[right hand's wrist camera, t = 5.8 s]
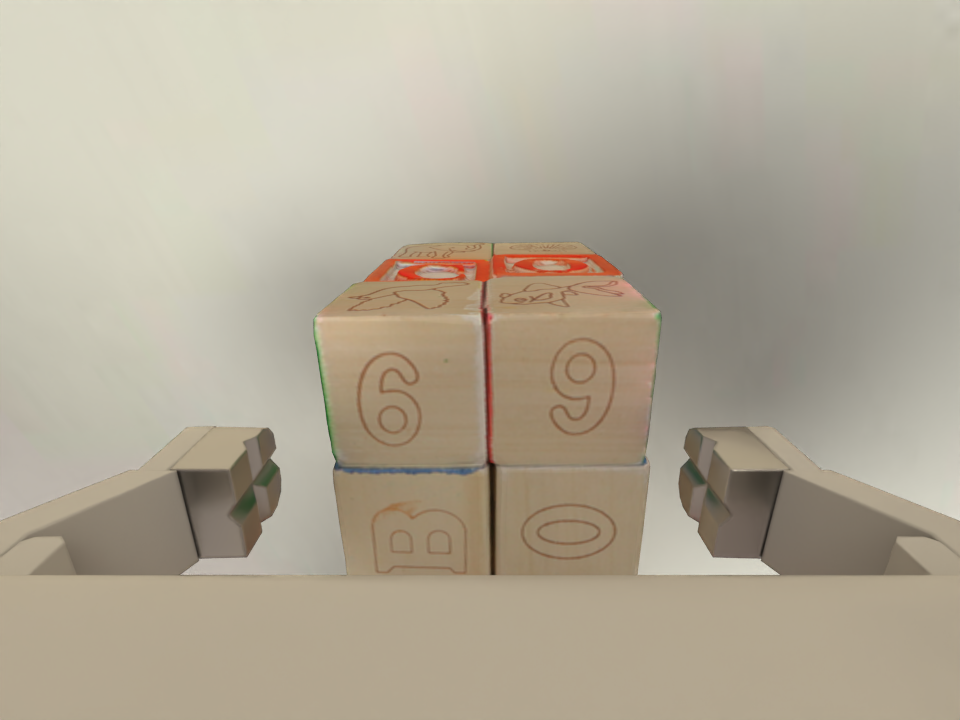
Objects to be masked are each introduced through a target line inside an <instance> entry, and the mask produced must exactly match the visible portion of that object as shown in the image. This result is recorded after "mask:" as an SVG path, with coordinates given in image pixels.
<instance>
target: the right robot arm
mask: <svg viewBox="0 0 960 720" xmlns="http://www.w3.org/2000/svg"><path fill="white" fill-rule="evenodd" d="M275 449H276V445H275V440H274V435H273V432H272V431H271V430H270V429H269V428H256V427H216V426H205V427H187V428H185V429H184V430H183V431H182V432H181V433H180V434H179V435H177V436H176V437H175V438H174V439H173V440H172V441H171V442H170V443H168V444H167V445H166V446H165V447H164V448H163V449H162V450H160V451H159V452H158V453H157V454H156V455H155V456H154V457H152V458H151V459H150V460H149V461H148V462H147V463H146V464H144V465H143V466H142V467H141V468H140V469H139V470H129V471H126V472H124V473H121V474H119V475H116V476H113V477H111V478H108V479H106V480H103V481H101V482H98V483H96V484H93V485H90V486H88V487H85V488H83V489H80V490H78V491H75V492H73V493H70V494H67V495H65V496H62V497H60V498H57V499H55V500H52V501H50V502H47V503H45V504H42V505H39V506H37V507H34V508H32V509H29V510H27V511H24V512H22V513H19V514H16V515H14V516H11V517H9V518H6V519H4V520H1V521H0V720H960V521H958V520H956V519H953V518H951V517H948V516H946V515H943V514H941V513H938V512H936V511H933V510H930V509H928V508H925V507H923V506H920V505H918V504H915V503H913V502H910V501H908V500H905V499H903V498H900V497H897V496H895V495H892V494H890V493H887V492H885V491H882V490H880V489H877V488H875V487H872V486H869V485H867V484H864V483H862V482H859V481H857V480H854V479H852V478H849V477H847V476H844V475H841V474H839V473H836V472H834V471H831V470H821V469H820V468H819V467H818V466H817V465H816V464H814V463H813V462H812V461H811V460H810V459H809V458H808V457H806V456H805V455H804V454H803V453H802V452H801V451H800V450H799V449H797V448H796V447H795V446H794V445H793V444H792V443H791V442H789V441H788V440H787V439H786V438H785V437H784V436H783V435H782V434H780V433H779V432H778V431H777V430H776V429H775V428H772V427H769V426H758V427H708V428H692V429H689V431H688V433H687V435H686V439H685V444H684V449H685V451H686V453H687V454H688V456H689V457H690V459H689V460H688V461H687V462H686V463H685V464H684V465H683V466H682V467H681V468H680V476H679V493H680V499H681V502H682V505H683V508H684V509H685V511H686V513H687V515H688V516H689V517H691V518H692V519H694V520H696V521H697V522H699V527H698V533H699V535H700V537H701V538H702V540H703V542H704V543H705V545H706V547H707V548H708V550H709V551H710V553H711V555H712V556H713V557H721V558H758V559H761V561H762V562H764V563H765V564H766V565H768V566H769V567H770V568H772V569H773V570H774V571H776V572H777V573H779V574H780V575H180V574H182V573H183V572H184V571H186V570H187V569H188V568H190V567H191V566H193V565H194V564H195V563H197V562H198V561H199V559H201V558H237V557H248V555H249V553H250V552H251V550H252V548H253V547H254V545H255V543H256V542H257V540H258V538H259V537H260V535H261V533H262V527H261V522H263V521H264V520H266V519H268V518H269V517H271V516H272V515H273V513H274V511H275V509H276V507H277V506H278V502H279V498H280V493H281V475H280V468H279V467H278V466H277V465H276V464H275V463H274V462H273V461H272V460H271V459H270V457H271V456H272V454H273V453H274V451H275Z"/></svg>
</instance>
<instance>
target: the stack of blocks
mask: <svg viewBox="0 0 960 720" xmlns="http://www.w3.org/2000/svg"><path fill="white" fill-rule="evenodd" d="M661 320H662V317H661V312H660V311H659V310H658V309H657V308H656V307H655V306H654V305H653V304H652V303H650V302H649V301H648V300H647V299H646V298H645V297H644V296H643V295H642V294H640V293H639V292H638V291H637V290H635V289H634V288H633V287H632V286H631V285H630V284H629V283H628V282H627V281H624V279H623V274H622V273H621V272H620V271H619V270H618V269H617V268H615V267H614V266H613V265H612V264H610V263H609V262H608V261H606V260H605V259H604V258H602V257H601V256H599V255H597V254H596V253H595V252H593V251H592V250H590V249H589V248H587V247H586V246H585V245H583V244H582V243H579V242H558V243H495V244H493V243H430V244H414V245H406V246H403V247H402V248H401V249H400V250H399V251H398V252H396V253H395V255H394V256H393V257H392V258H391V259H388V260H386V261H384V262H383V263H382V264H381V265H380V266H379V267H378V268H377V269H376V270H375V271H373V272H372V273H371V274H370V275H369V276H368V277H367V278H366V279H365V281H364V282H361V283H356V284H353V285H352V286H351V287H350V288H348V289H347V290H346V291H345V292H344V293H342V294H341V295H340V296H339V297H337V298H336V299H335V300H334V301H333V302H331V303H330V304H329V305H328V306H327V307H325V308H324V309H323V310H322V311H320V312H319V313H318V314H317V316H316V317H315V318H314V339H315V344H316V349H317V356H318V363H319V370H320V376H321V383H322V389H323V395H324V402H325V410H326V418H327V425H328V431H329V436H330V441H331V447H332V453H333V455H334V458H335V460H336V463H335V466H334V469H333V481H334V489H335V495H336V501H337V508H338V516H339V523H340V530H341V536H342V542H343V548H344V554H345V560H346V570H347V575H637V573H638V565H639V557H640V550H641V542H642V534H643V526H644V517H645V508H646V499H647V490H648V482H649V473H650V464H649V461H648V459H647V457H646V455H645V453H646V448H647V442H648V435H649V427H650V418H651V408H652V399H653V391H654V384H655V376H656V362H657V357H658V348H659V339H660V330H661Z"/></svg>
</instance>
